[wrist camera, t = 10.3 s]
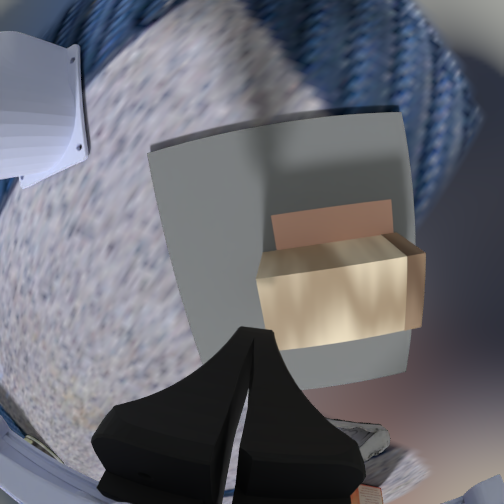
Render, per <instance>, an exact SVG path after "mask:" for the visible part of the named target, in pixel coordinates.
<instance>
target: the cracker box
mask: <svg viewBox="0 0 504 504" xmlns="http://www.w3.org/2000/svg"><path fill="white" fill-rule="evenodd" d="M351 504H383V497H382V491H381V488H379V487H374V486H368V485H364V484H360V486H359V487H358V488H357V489H356V490H355V491H354V492H353V493H352V495H351Z"/></svg>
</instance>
